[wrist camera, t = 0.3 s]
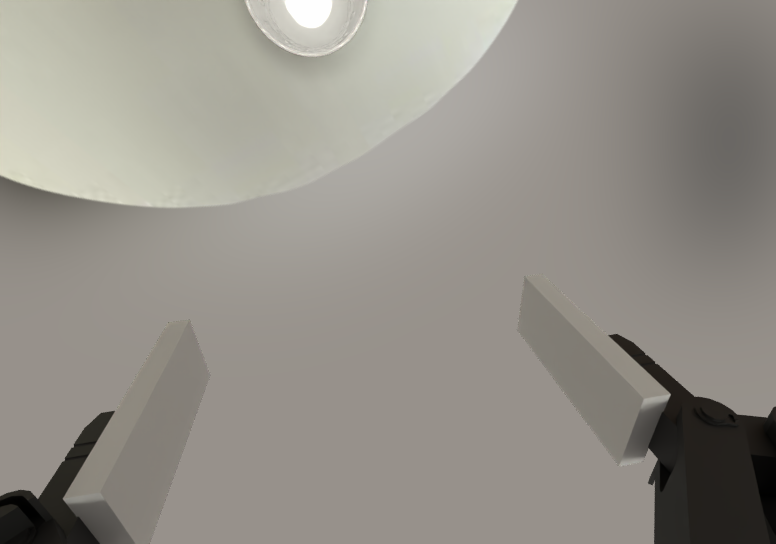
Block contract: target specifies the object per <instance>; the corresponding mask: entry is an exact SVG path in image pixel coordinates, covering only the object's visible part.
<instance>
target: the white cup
mask: <svg viewBox="0 0 776 544" xmlns="http://www.w3.org/2000/svg"><path fill="white" fill-rule="evenodd" d="M245 3H246V6H247V8H248V10H249V12H250V14H251V16H252V18H253V20H254V21H255V23H256V24H257V26H258V27H259V28H260V30H261V31H262V32H263V33H264V34H265V35H266V36H267V37H268V38H269V39H270V40H271V41H272V42H273V43H275V44H276V45H278V46H279V47H281V48H282V49H284V50H286V51H288V52H290V53H293V54H296V55H300V56H306V57H318V56H324V55H327V54H330V53H333V52H335V51H337V50H338V49H340V48H342V47H343V46H344V45H345V44H347V43H348V42H349V41H350V40H351V38H352V37H353V36H354V35H355V33H356V32H357V30H358V29H359V27H360V25H361V23H362V20H363V18H364V15H365V12H366V8H367V3H368V0H245Z"/></svg>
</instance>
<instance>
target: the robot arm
mask: <svg viewBox="0 0 776 544" xmlns="http://www.w3.org/2000/svg"><path fill="white" fill-rule="evenodd" d="M518 332H519V333H520V334H521V336H522V337H523V339H524V340H525V341H526V342H527V344H528V345H529V347H530V348H531V349H532V351H533V352H534V353H535V355H536V356H537V357H538V359H539V360H540V361H541V363H542V364H543V365H544V367H545V368H546V369H547V371H548V372H549V373H550V375H551V376H552V377H553V379H554V380H555V381H556V383H557V384H558V385H559V387H560V388H561V390H562V391H563V392H564V393H565V395H566V396H567V398H568V399H569V400H570V402H571V403H572V404H573V406H574V407H575V408H576V410H577V411H578V412H579V414H580V415H581V416H582V418H583V419H584V420H585V422H586V423H587V424H588V426H589V427H590V428H591V430H592V431H593V432H594V434H595V435H596V436H597V438H598V439H599V440H600V442H601V443H602V444H603V446H604V447H605V448H606V450H607V451H608V453H609V454H610V455H611V456H612V458H613V459H614V461H615V462H616V463H617V464H618V466H624V465H629V464H635V463H640V462H643V460H644V458H645V456H646V453H647V451H648V448H649V449H650V450H651V451H652V452H653V453H654V455H655V456H656V457H657V458H658V461H657V463H656V465H655V467H654V469H653V472H652V474H651V476H650V479H649V482H648V483H649V484H651V485H653V483H654V480H655V527H654V528H655V529H654V544H776V407H774V408H773V409H772V411H771V413H770V414H769V416H768V418H766V417H756V416H755V417H754V416H746V415H737V414H736V413H734V411H733V410H731V409H730V408H728V407H726V406H725V405H723V404H721V403H719V402H716V401H714V400H711V399H708V398H703V397H694V396H693V395H692V394H691V393H690V392H689V391H687V390H686V389H685V388H684V387H683V386H682V385H681V384H679V383H678V382H677V381H676V380H675V379H674V378H672V377H671V376H670V375H669V374H668V373H667V372H666V371H665V370H663V369H662V368H661V367H660V366H659V365H658V364H655V361H653V360H652V359H651V358H650V357H649V356H648V355H645V353H644V352H643V351H642V350H641V349H640V348H639V347H638V346H636V345H635V344H634V343H633V342H631V341H629V340H627V339H625V338H624V337H622V336H620V335H618V334H614V335H607V334H606V333H605V332H604V331H603V330H602V329H601V328H600V327H598V326H597V325H596V324H595V323H594V322H593V321H592V320H591V319H590V318H589V317H588V316H587V315H586V314H585V313H583V312H582V311H581V310H580V309H579V308H578V307H577V306H576V305H575V304H574V303H573V302H572V301H571V300H569V299H568V298H567V297H566V296H565V295H564V294H563V293H562V292H561V291H560V290H559V289H558V288H557V287H556V286H555V285H554V284H552V283H551V282H550V281H549V280H548V279H547V278H546V277H545V276H544V275H543V274H538V275H530V276H525V277H524V284H523V292H522V299H521V307H520V315H519V322H518ZM209 378H210V372H209V370H208V367H207V364H206V362H205V359H204V356H203V354H202V351H201V348H200V346H199V343H198V340H197V338H196V335H195V333H194V330H193V327H192V324H191V321H190V320H183V321H176V322H168V324H167V325H166V327H165V329H164V330H163V332H162V334H161V336H160V337H159V339H158V340H157V342H156V344H155V346H154V347H153V349H152V350H151V352H150V354H149V355H148V357H147V359H146V361H145V362H144V364H143V365H142V367H141V369H140V371H139V372H138V374H137V376H136V377H135V379H134V381H133V382H132V384H131V386H130V387H129V389H128V391H127V392H126V394H125V396H124V397H123V399H122V401H121V402H120V404H119V406H118V407H117V409H116V411H111V412H105V413H101V414H99V415H98V416H97V417H96V418H95V419H94V420H93V421H92V422H91V423H90V424H89V425H88V426H86V427H85V428H84V430H83V431H82V433H81V434H80V436H79V437H78V439H77V440H76V442H75V444H74V448H71V450H70V451H69V453H68V454H67V456H66V457H65V461H64V462H62V463H61V465H60V466H59V468H58V469H57V471H56V473H55V474H54V476H53V477H52V479H51V480H50V482H49V483H48V485H47V486H46V488H45V489H44V491H43V493H42V494H41V495H40V497H39V499H37V498H36V497H35V496H34V495H33V494H32V493H31V491H25V490H18V491H14V492H10V493H6V494H4V495H2V496H0V544H150V542H151V539H152V536H153V534H154V531H155V528H156V525H157V523H158V520H159V517H160V514H161V511H162V509H163V506H164V503H165V500H166V497H167V495H168V492H169V489H170V486H171V484H172V480H173V478H174V475H175V472H176V470H177V467H178V464H179V461H180V458H181V455H182V453H183V450H184V447H185V445H186V442H187V439H188V436H189V433H190V431H191V428H192V425H193V422H194V420H195V416H196V414H197V411H198V408H199V405H200V403H201V400H202V397H203V394H204V392H205V389H206V386H207V383H208V380H209Z"/></svg>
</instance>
